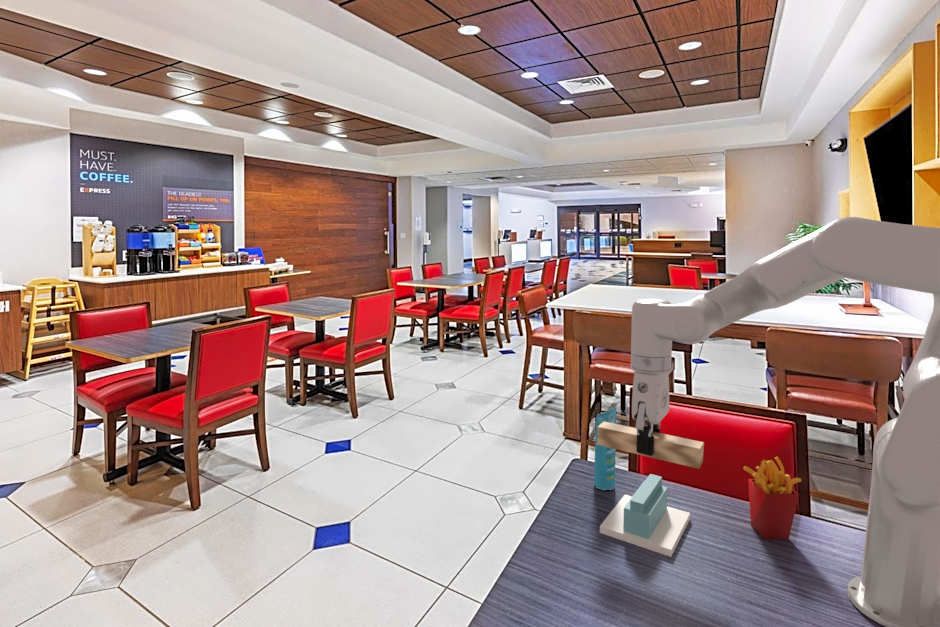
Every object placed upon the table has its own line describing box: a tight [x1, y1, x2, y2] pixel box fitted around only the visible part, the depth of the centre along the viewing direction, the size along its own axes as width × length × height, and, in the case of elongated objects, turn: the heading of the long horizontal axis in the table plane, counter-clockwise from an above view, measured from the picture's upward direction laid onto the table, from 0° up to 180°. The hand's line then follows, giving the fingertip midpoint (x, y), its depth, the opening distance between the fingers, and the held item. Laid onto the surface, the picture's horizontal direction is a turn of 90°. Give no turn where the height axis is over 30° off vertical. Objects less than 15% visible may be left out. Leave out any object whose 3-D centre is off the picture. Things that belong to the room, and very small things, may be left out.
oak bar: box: [597, 422, 705, 469], centre depth 102 cm, size 20×4×4 cm, turn 54°
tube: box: [593, 406, 617, 490], centre depth 120 cm, size 7×5×19 cm, turn 134°
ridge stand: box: [599, 473, 691, 558], centre depth 104 cm, size 14×15×8 cm
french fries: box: [743, 456, 802, 540], centre depth 102 cm, size 9×8×15 cm
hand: (648, 449), depth 102 cm, fingers closed on oak bar, 3 cm apart
